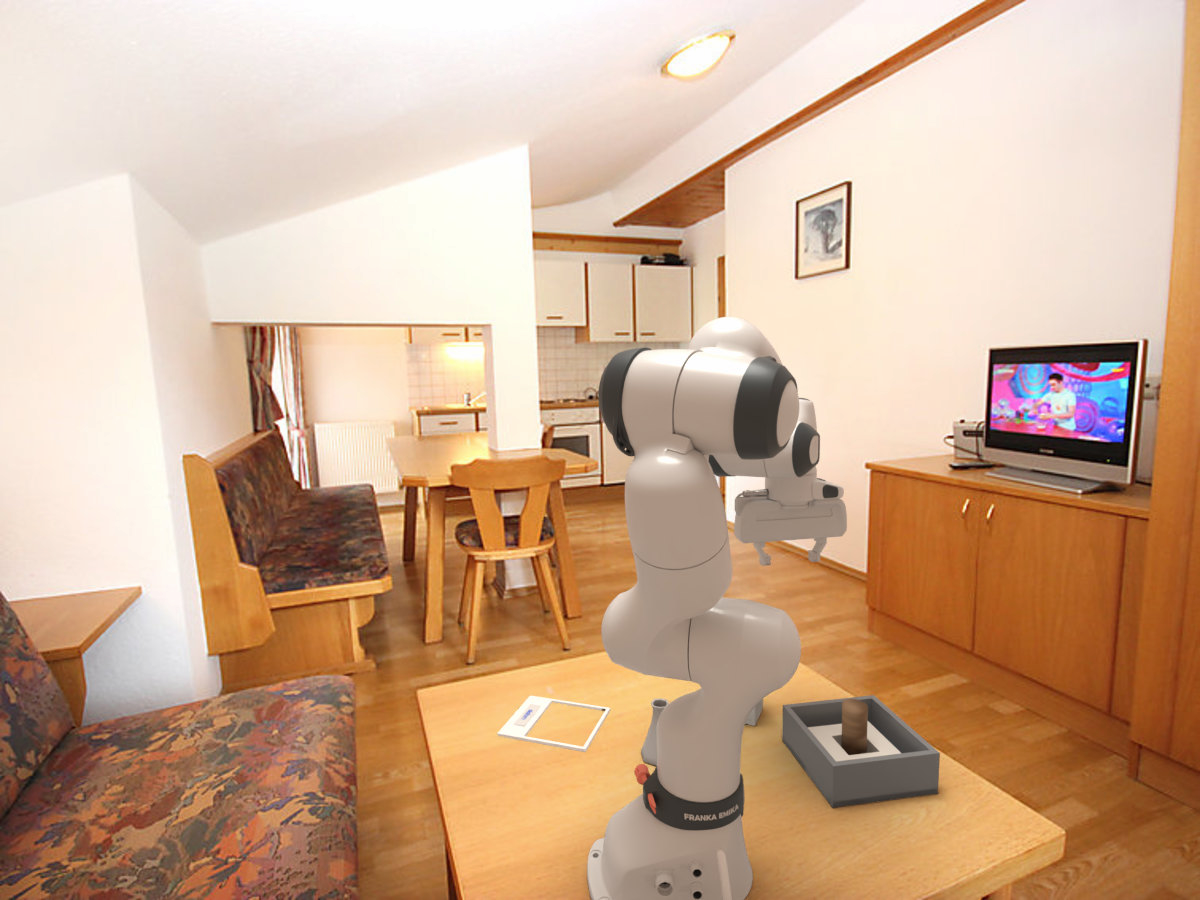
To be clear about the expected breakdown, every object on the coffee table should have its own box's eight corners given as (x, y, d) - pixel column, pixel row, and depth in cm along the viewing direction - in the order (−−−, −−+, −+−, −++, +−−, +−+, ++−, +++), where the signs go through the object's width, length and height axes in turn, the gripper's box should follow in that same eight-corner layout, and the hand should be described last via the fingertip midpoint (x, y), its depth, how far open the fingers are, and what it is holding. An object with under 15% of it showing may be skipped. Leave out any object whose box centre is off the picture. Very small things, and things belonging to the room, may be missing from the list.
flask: (679, 770, 106) (678, 715, 105) (637, 765, 107) (636, 712, 106) (682, 745, 113) (682, 693, 112) (643, 741, 114) (642, 690, 113)
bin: (832, 807, 96) (833, 766, 95) (782, 740, 113) (782, 704, 113) (937, 793, 98) (939, 753, 97) (872, 730, 116) (873, 695, 115)
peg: (849, 768, 104) (850, 712, 102) (836, 753, 107) (837, 700, 106) (871, 765, 104) (872, 710, 103) (858, 751, 108) (859, 697, 107)
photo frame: (530, 694, 131) (610, 707, 125) (530, 699, 131) (610, 712, 125) (497, 732, 117) (585, 748, 112) (497, 737, 118) (585, 754, 112)
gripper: (741, 494, 105) (741, 572, 107) (852, 487, 108) (850, 563, 110) (728, 487, 111) (728, 561, 113) (833, 481, 114) (832, 553, 116)
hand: (789, 562), depth 112 cm, fingers open, 8 cm apart
